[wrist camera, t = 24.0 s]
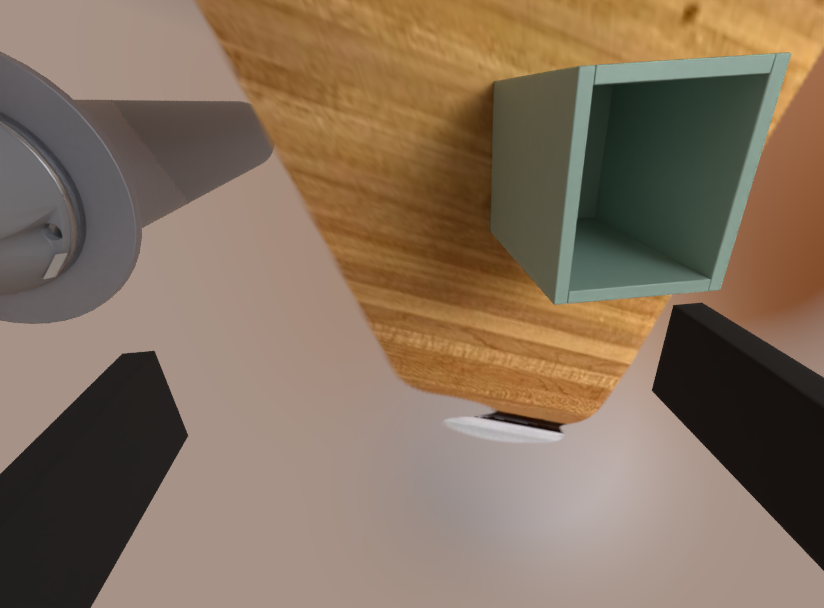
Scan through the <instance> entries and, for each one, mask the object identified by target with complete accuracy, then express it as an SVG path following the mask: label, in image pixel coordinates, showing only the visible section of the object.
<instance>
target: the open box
mask: <svg viewBox="0 0 824 608" xmlns="http://www.w3.org/2000/svg"><path fill="white" fill-rule="evenodd" d="M790 56H791V53H775V54H774V53H773V54H757V55H742V56H726V57H711V58H695V59H679V60H664V61H648V62H633V63H617V64H601V65H586V66H577V67H571V68H566V69H560V70H555V71H549V72H544V73H538V74H533V75H527V76H521V77H516V78H510V79H505V80H499V81H494V99H493V138H492V177H491V216H490V232H491V233H492V234H493V235H494V237H495V238H496V239H497V240H498V241H499V242H500V243H501V245H502V246H503V247H504V248H505V249H506V250H507V251H508V253H509V254H510V255H511V256H512V257H513V258H514V259H515V261H516V262H517V263H518V264H519V265H520V266H521V267H522V269H523V270H524V271H525V272H526V273H527V274H528V275H529V277H530V278H531V279H532V280H533V281H534V282H535V283H536V284H537V286H538V287H539V288H540V289H541V290H542V291H543V292H544V294H545V295H546V296H547V297H548V298H549V299H550V300H551V302H552V303H553V304H555V305H557V304H566V303H568V304H570V303H581V302H592V301H603V300H615V299H626V298H637V297H648V296H660V295H671V294H682V293H693V292H705V291H714V290H720V289H721V286H722V282H723V279H724V276H725V272H726V269H727V265H728V262H729V259H730V256H731V252H732V249H733V246H734V242H735V239H736V235H737V233H738V229H739V226H740V223H741V219H742V216H743V212H744V209H745V206H746V203H747V199H748V196H749V193H750V189H751V186H752V183H753V179H754V176H755V173H756V169H757V166H758V163H759V159H760V156H761V153H762V149H763V146H764V143H765V140H766V136H767V133H768V130H769V126H770V123H771V120H772V116H773V113H774V110H775V106H776V103H777V100H778V96H779V93H780V90H781V86H782V83H783V80H784V76H785V73H786V70H787V66H788V63H789V60H790Z"/></svg>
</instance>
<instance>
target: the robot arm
mask: <svg viewBox="0 0 824 608" xmlns="http://www.w3.org/2000/svg"><path fill="white" fill-rule="evenodd" d="M85 237H86V217H85V210H84V207H83V203H82V200H81V197H80V194H79V192H78V190H77V187H76V185H75V183H74V181H73V180H72V178H71V176H70V174H69V173H68V171H67V170H66V168H65V167H64V165H63V164H62V163H61V162H60V160H59V159H58V158H57V157H56V155H55V154H54V153H53V152H52V151H51V150H50V149H49V148H48V147H47V146H46V145H45V144H44V143H43V142H42V141H41V140H40V139H39V138H38V137H37V136H36V135H34V134H33V133H32V132H31V131H29V130H28V129H27V128H25V127H24V126H23V125H21V124H20V123H18V122H17V121H15V120H14V119H12V118H10V117H9V116H7V115H5V114H3V113H2V112H0V296H1V295H8V294H16V293H22V292H26V291H30V290H33V289H36V288H38V287H40V286H42V285H44V284H46V283H48V282H50V281H51V280H53V279H55V278H57V277H59V276H60V275H62V274H63V273H65V272H66V271H67V270H68V269H69V268H70V267H71V266H72V265H73V264H74V263H75V262H76V260H77V259H78V257H79V255H80V253H81V251H82V249H83V246H84V242H85ZM652 391H653V392H654V393H655V394H656V395H657V397H658V398H659V399H660V400H661V401H662V402H663V403H664V404H665V405H666V406H667V407H668V408H669V409H670V410H671V411H672V412H673V413H674V414H675V415H676V416H677V417H678V419H679V420H680V421H682V423H683V424H684V425H685V426H686V427H687V428H688V429H689V430H690V431H691V432H692V433H693V434H694V435H695V436H696V437H697V438H698V439H699V440H700V442H701V443H702V444H703V445H704V446H705V447H706V448H707V449H708V450H709V451H710V452H711V453H712V454H713V455H714V456H715V457H716V458H717V459H718V460H719V461H720V463H721V464H722V465H724V467H725V468H726V469H727V470H728V471H729V472H730V473H731V474H732V475H733V476H734V477H735V478H736V479H737V480H738V481H739V482H740V483H741V484H742V486H743V487H744V488H745V489H746V490H747V491H748V492H749V493H750V494H751V495H752V496H753V497H754V498H755V499H756V500H757V501H758V502H759V503H760V504H761V505H762V507H764V508H765V510H766V511H767V512H768V513H769V514H770V515H771V516H772V517H773V518H774V519H775V520H776V521H777V522H778V523H779V524H780V525H781V526H782V527H783V529H784V530H785V531H786V532H787V533H788V534H789V535H790V536H791V537H792V538H793V539H794V540H795V541H796V542H797V543H798V544H799V545H800V546H801V547H802V548H803V549H804V551H805V552H806V553H807V554H809V556H810V557H811V558H812V559H813V560H814V561H815V562H816V563H817V564H818V565H819V566H820V567H821V568H822V569H823V570H824V378H823V377H822V376H820V375H819V374H817V373H815V372H814V371H812V370H810V369H809V368H807V367H806V366H804V365H802V364H801V363H799V362H797V361H796V360H794V359H793V358H791V357H789V356H788V355H786V354H784V353H783V352H781V351H779V350H777V349H776V348H775V347H773V346H771V345H770V344H768V343H767V342H765V341H763V340H762V339H760V338H758V337H757V336H755V335H753V334H752V333H750V332H749V331H747V330H745V329H744V328H742V327H741V326H739V325H737V324H736V323H734V322H732V321H731V320H729V319H728V318H726V317H724V316H723V315H721V314H719V313H718V312H716V311H715V310H713V309H711V308H710V307H708V306H706V305H705V304H703V303H694V304H682V305H673V309H672V313H671V317H670V321H669V325H668V329H667V333H666V337H665V341H664V345H663V348H662V353H661V356H660V361H659V364H658V368H657V373H656V376H655V380H654V384H653V388H652ZM187 437H188V434H187V431H186V429H185V427H184V424H183V421H182V419H181V417H180V414H179V411H178V409H177V407H176V404H175V401H174V399H173V396H172V394H171V391H170V389H169V386H168V384H167V381H166V379H165V376H164V374H163V371H162V369H161V366H160V364H159V361H158V359H157V356H156V354H155V351H148V352H137V353H127V354H122V355H121V356H120V357H119V358H118V359H117V360H116V361H115V362H114V363H113V364H112V365H110V366H109V367H108V369H106V370H105V371H104V373H102V374H101V375H100V376H99V377H98V378H97V379H96V380H95V381H94V382H93V383H92V384H91V385H90V386H89V387H88V388H87V389H86V390H85V391H84V392H83V393H82V394H81V395H80V396H79V397H78V398H77V399H76V400H75V401H74V402H73V403H72V404H71V405H70V406H69V407H68V408H67V409H66V410H65V411H64V412H63V413H62V414H61V415H60V416H59V417H58V418H57V419H56V420H55V421H54V422H53V423H52V424H51V425H50V426H49V427H48V428H47V429H46V430H45V431H44V432H43V433H42V434H41V435H40V436H39V437H38V438H36V439H35V440H34V441H33V443H31V444H30V445H29V446H28V447H27V448H26V449H25V450H24V451H23V452H22V453H21V454H20V455H19V456H18V457H17V458H16V459H15V460H14V461H13V462H12V463H11V464H10V465H9V466H8V467H7V468H6V469H5V470H4V471H3V472H2V473H1V474H0V608H91V606H92V604H93V603H94V600H95V599H96V597H97V595H98V594H99V592H100V590H101V588H102V587H103V585H104V583H105V581H106V580H107V578H108V576H109V574H110V572H111V571H112V569H113V567H114V566H115V564H116V562H117V560H118V559H119V557H120V555H121V553H122V551H123V550H124V548H125V546H126V544H127V543H128V541H129V539H130V537H131V536H132V534H133V532H134V530H135V528H136V527H137V525H138V523H139V521H140V520H141V518H142V516H143V514H144V513H145V511H146V509H147V507H148V506H149V504H150V502H151V500H152V499H153V497H154V495H155V493H156V491H157V490H158V488H159V486H160V484H161V483H162V481H163V479H164V477H165V475H166V474H167V472H168V470H169V469H170V467H171V465H172V463H173V461H174V459H175V458H176V456H177V454H178V453H179V451H180V449H181V447H182V446H183V444H184V442H185V440H186V439H187Z"/></svg>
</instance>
